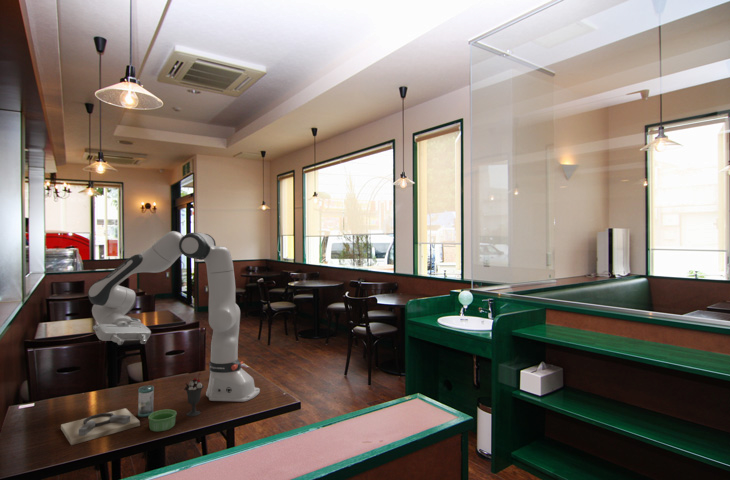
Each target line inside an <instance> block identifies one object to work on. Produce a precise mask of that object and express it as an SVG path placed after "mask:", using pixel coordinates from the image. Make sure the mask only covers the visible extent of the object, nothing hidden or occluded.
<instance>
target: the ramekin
mask: <svg viewBox="0 0 730 480" xmlns="http://www.w3.org/2000/svg"><path fill="white" fill-rule="evenodd" d="M176 416H177V410H174V409H171V408H169V409H168V408H167V409H166V408H165V409H160V410H156V411H153V413H151V414H150V415H149V416H148V417H147V418H148V425H149V430H150V431H152V432H164V431H168V430H170V429H172V428H173V427H175V425H176Z"/></svg>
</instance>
